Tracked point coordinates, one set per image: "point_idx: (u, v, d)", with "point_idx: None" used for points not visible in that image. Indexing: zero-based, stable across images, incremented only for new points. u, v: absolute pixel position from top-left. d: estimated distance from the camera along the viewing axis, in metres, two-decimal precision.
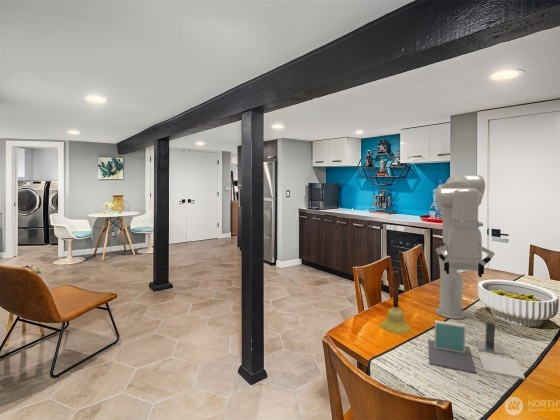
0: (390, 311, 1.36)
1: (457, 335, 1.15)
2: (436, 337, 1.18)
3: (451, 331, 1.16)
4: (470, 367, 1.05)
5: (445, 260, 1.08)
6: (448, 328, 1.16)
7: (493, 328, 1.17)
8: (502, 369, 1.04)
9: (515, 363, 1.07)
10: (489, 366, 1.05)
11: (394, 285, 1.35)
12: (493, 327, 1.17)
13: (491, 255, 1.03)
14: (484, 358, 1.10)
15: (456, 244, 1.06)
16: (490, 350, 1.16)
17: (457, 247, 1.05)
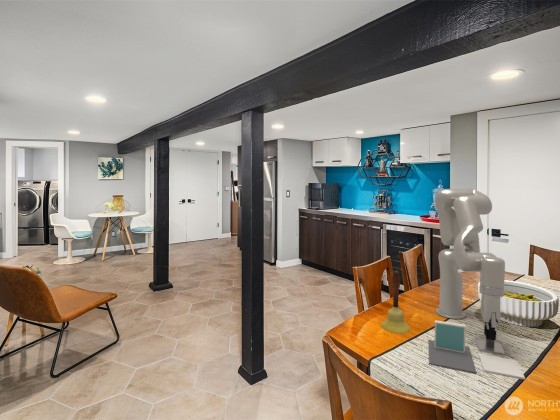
0: (390, 311, 1.36)
1: (457, 335, 1.15)
2: (436, 337, 1.18)
3: (451, 331, 1.16)
4: (470, 367, 1.05)
5: (495, 328, 1.15)
6: (448, 328, 1.16)
7: None
8: (502, 369, 1.04)
9: (515, 363, 1.07)
10: (489, 366, 1.05)
11: (394, 285, 1.35)
12: None
13: None
14: (484, 358, 1.10)
15: None
16: (490, 350, 1.16)
17: None
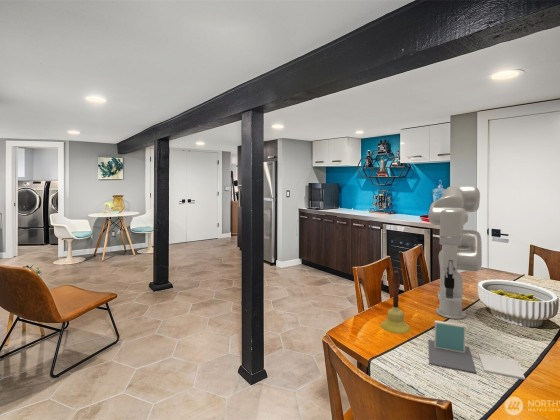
0: (390, 311, 1.36)
1: (457, 335, 1.15)
2: (436, 337, 1.18)
3: (451, 331, 1.16)
4: (470, 367, 1.05)
5: (453, 277, 1.20)
6: (448, 328, 1.16)
7: None
8: (502, 369, 1.04)
9: (515, 363, 1.07)
10: (489, 366, 1.05)
11: (394, 285, 1.35)
12: None
13: None
14: (484, 358, 1.10)
15: None
16: (449, 297, 1.21)
17: None
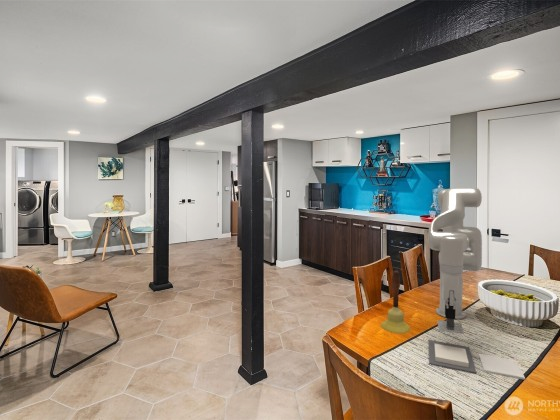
0: (390, 311, 1.36)
1: None
2: None
3: None
4: (470, 367, 1.05)
5: (454, 307, 1.14)
6: None
7: None
8: (502, 369, 1.04)
9: (515, 363, 1.07)
10: (489, 366, 1.05)
11: (394, 285, 1.35)
12: None
13: None
14: (484, 358, 1.10)
15: None
16: (450, 329, 1.15)
17: None
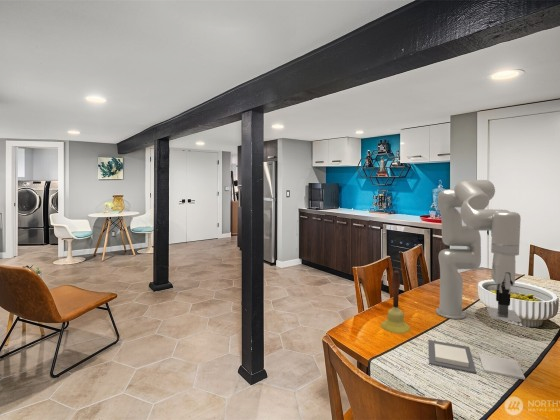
0: (390, 311, 1.36)
1: None
2: None
3: None
4: (470, 367, 1.05)
5: (509, 292, 1.02)
6: None
7: None
8: (502, 369, 1.04)
9: (515, 363, 1.07)
10: (489, 366, 1.05)
11: (394, 285, 1.35)
12: None
13: None
14: (484, 358, 1.10)
15: None
16: (504, 316, 1.02)
17: None
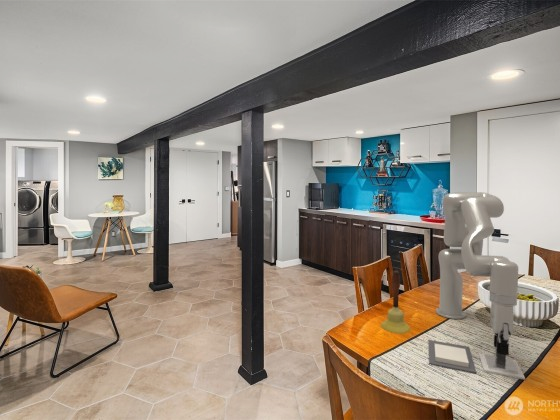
0: (390, 311, 1.36)
1: None
2: None
3: None
4: (470, 367, 1.05)
5: (508, 342, 1.02)
6: None
7: None
8: None
9: (515, 363, 1.07)
10: None
11: (394, 285, 1.35)
12: None
13: None
14: (484, 358, 1.10)
15: None
16: (501, 367, 1.04)
17: None
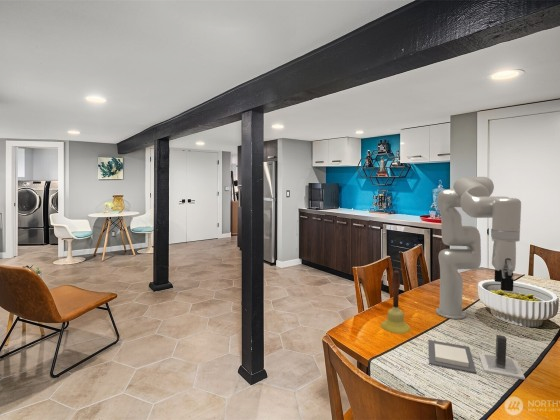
0: (390, 311, 1.36)
1: None
2: None
3: None
4: (470, 367, 1.05)
5: (512, 277, 0.99)
6: None
7: (505, 342, 1.04)
8: None
9: (515, 363, 1.07)
10: None
11: (394, 285, 1.35)
12: (505, 341, 1.04)
13: None
14: (484, 358, 1.10)
15: None
16: (501, 367, 1.04)
17: None
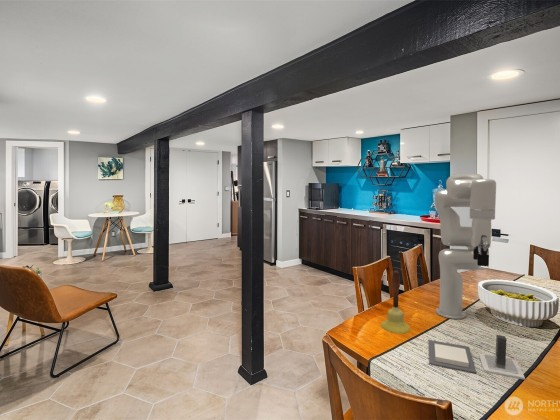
0: (390, 311, 1.36)
1: None
2: None
3: None
4: (470, 367, 1.05)
5: None
6: None
7: (505, 342, 1.04)
8: None
9: (515, 363, 1.07)
10: None
11: (394, 285, 1.35)
12: (505, 341, 1.04)
13: None
14: (484, 358, 1.10)
15: None
16: (501, 367, 1.04)
17: None
